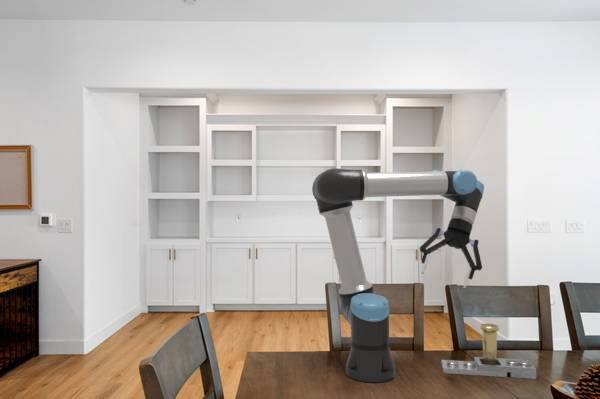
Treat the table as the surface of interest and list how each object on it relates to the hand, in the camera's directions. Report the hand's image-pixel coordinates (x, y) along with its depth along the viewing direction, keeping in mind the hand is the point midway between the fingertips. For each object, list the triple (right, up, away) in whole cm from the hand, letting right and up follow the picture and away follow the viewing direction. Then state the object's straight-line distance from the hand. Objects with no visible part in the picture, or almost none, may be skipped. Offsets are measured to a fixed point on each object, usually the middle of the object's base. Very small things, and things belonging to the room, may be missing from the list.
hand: (443, 280), depth 148 cm
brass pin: (+12, -27, -8) cm, 30 cm away
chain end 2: (+16, -27, -9) cm, 32 cm away
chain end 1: (+7, -27, -7) cm, 29 cm away
